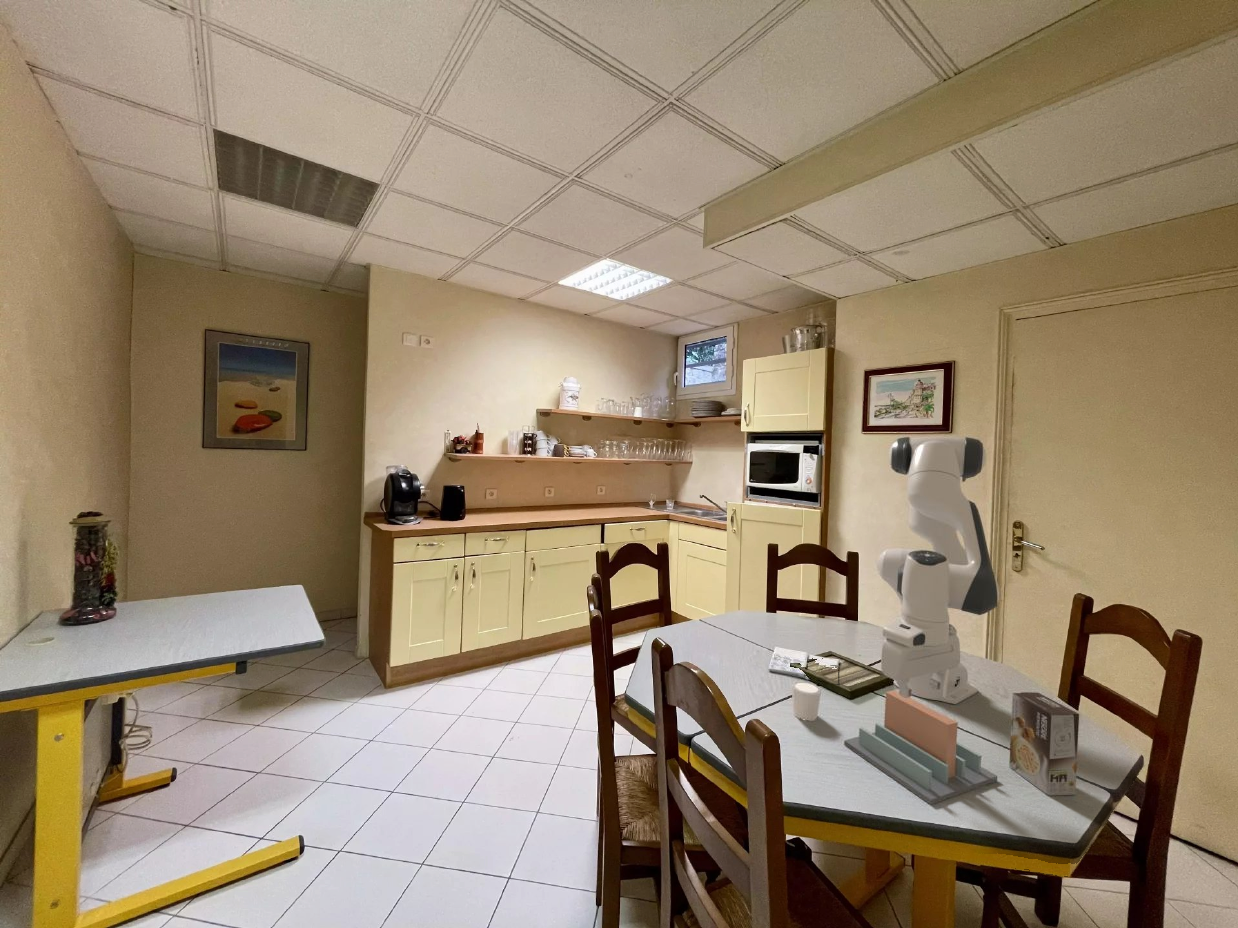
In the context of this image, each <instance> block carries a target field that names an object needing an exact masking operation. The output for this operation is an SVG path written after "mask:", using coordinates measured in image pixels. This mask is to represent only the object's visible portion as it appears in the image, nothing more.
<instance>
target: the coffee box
mask: <svg viewBox="0 0 1238 928" xmlns="http://www.w3.org/2000/svg"><path fill="white" fill-rule="evenodd" d="M1011 695H1012V697H1011V698H1012V699H1011V718H1010V719H1011V722H1010V738H1009V739H1010V742H1009V743H1010V744H1009V745H1010V746H1009V762H1008V763H1009V764H1008V765H1009V768H1010V769H1011V770H1012V771H1014V772H1015V773H1017V774H1018V775H1019V776H1021V777H1022V778H1024V779H1025V780H1027V781H1028V782H1029V783H1030V784H1032V785H1033V786H1034V787H1036V788H1037V789H1039V790H1040V791H1041V792H1043V793H1044V794H1045V795H1046V796H1074V795H1076V788H1077V786H1076V785H1077V768H1078V767H1077V766H1078V763H1077V762H1078V747H1079V729H1080V728H1079V726H1080V725H1079V724H1080V713H1078V712H1076V711H1074V710H1073V709H1071V708H1069V707H1067V706H1065V705H1062V704H1061V703H1059V702H1057V701H1056V700H1053V699H1052V698H1049V697H1048V696H1045V695H1044V694H1041V692H1037V691H1036V692H1035V691H1034V692H1032V691H1031V692H1029V691H1028V692H1027V691H1025V692H1012V694H1011Z"/></svg>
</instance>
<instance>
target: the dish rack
mask: <svg viewBox="0 0 1238 928" xmlns="http://www.w3.org/2000/svg"><path fill="white" fill-rule="evenodd" d="M874 728H875V729H874V732H871V731H868V730H867V729H865V728H864V727H859V728H858V736H855V737H852V738H848V739H845V740H844V741H843V744H844V746H845V747H847V748H848V749H850V750H852V751H853V752H854V753H855V754H857V755H858V756H859V757H860V758H862V759H864V760H865V761H867V762H868V763H870V764H871V765H872V766H873V767H875V768H877V770H879V771H881V772H883V773H884V774H885V775H887V776H888V777H890V778H891V779H893V780H894V781H895V782H897V783H898V784H900V785H901V786H903V787H904V788H905V789H907V790H908V791H910V792H911V793H913V794H915V795H916V796H917V797H918V798H920V799H921V800H923V801H924V802H925V803H927V804H929V805H931V806H932V805H934V804H938V803H940V802H943V801H946V800H948V799H951V798H954V797H957V796H961V795H962V794H965V793H968V792H970V791H973V790H976V789H978V788H981V787H985V786H987V785H990V784H991V783H992V784H993V783H995V782H998V775H997V774H995V773H993V772H991V771H989V770H988V769H986V768H984V767H982V766H981V764H982V755H981V754H980V753H978V752H976V751H974V750H972V749H971V748H969V747H967V746H964V745H963V744H961V743H959V742H957V743H956V761H955V776H954V777H951V778H948V776H949V766H948V765H947V764H945V763H943V762H942V761H940V760H938V759H937V758H935V757H933V756H932V755H930V754H928V753H927V752H925V751H923V750H922V749H920V748H918V747H917V746H915V745H913V744H912V743H910V742H908V741H907V740H905V739H903V738H902V737H900V736H898V735H897V734H895V733H893V732H892V731H890V730H888V729H887V728H885V727H884V725H882V724H880V723H875V727H874Z"/></svg>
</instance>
